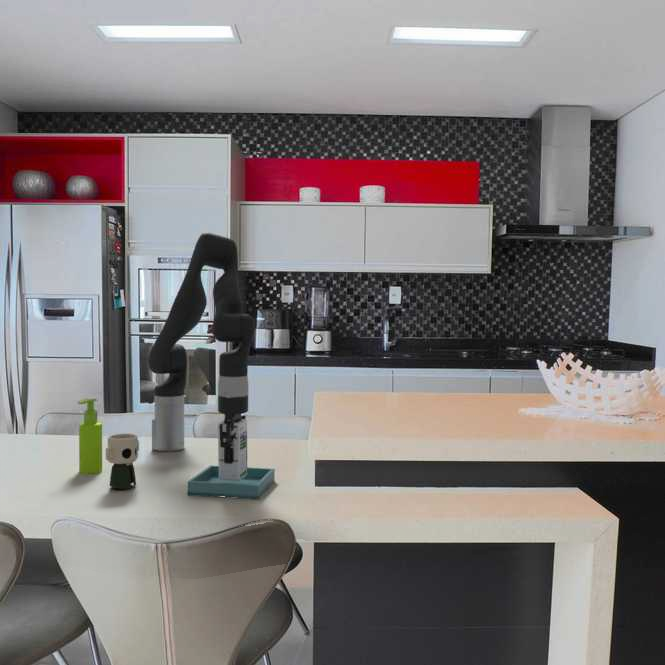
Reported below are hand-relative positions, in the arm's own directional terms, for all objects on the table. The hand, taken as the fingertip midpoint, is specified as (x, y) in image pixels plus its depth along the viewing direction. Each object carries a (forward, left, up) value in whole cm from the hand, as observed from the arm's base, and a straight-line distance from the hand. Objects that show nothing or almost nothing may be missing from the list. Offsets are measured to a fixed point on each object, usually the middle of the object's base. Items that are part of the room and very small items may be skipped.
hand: (232, 459), depth 157 cm
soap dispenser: (-43, +7, -7) cm, 44 cm away
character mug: (-27, -5, -7) cm, 28 cm away
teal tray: (0, 0, -7) cm, 7 cm away
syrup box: (0, 0, -5) cm, 5 cm away
